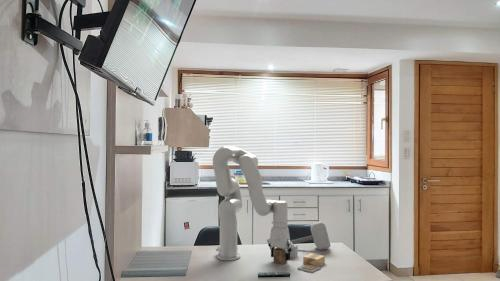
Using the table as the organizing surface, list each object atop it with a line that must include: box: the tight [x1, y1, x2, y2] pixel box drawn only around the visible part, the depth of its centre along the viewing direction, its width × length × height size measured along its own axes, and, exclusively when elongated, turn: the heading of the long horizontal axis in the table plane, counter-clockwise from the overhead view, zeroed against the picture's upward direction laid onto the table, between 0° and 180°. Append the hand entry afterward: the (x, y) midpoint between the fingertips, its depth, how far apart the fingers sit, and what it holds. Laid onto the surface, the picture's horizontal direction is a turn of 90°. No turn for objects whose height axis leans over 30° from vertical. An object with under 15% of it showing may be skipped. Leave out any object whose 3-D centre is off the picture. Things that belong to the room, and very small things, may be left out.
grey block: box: [287, 244, 299, 259], centre depth 198 cm, size 5×5×6 cm
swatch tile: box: [297, 264, 322, 274], centre depth 176 cm, size 8×8×1 cm
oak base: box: [302, 252, 326, 267], centre depth 185 cm, size 8×8×4 cm
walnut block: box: [272, 247, 288, 265], centre depth 187 cm, size 5×5×7 cm
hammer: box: [290, 220, 331, 251], centre depth 213 cm, size 15×8×30 cm
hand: (280, 258), depth 187 cm, fingers open, 8 cm apart
